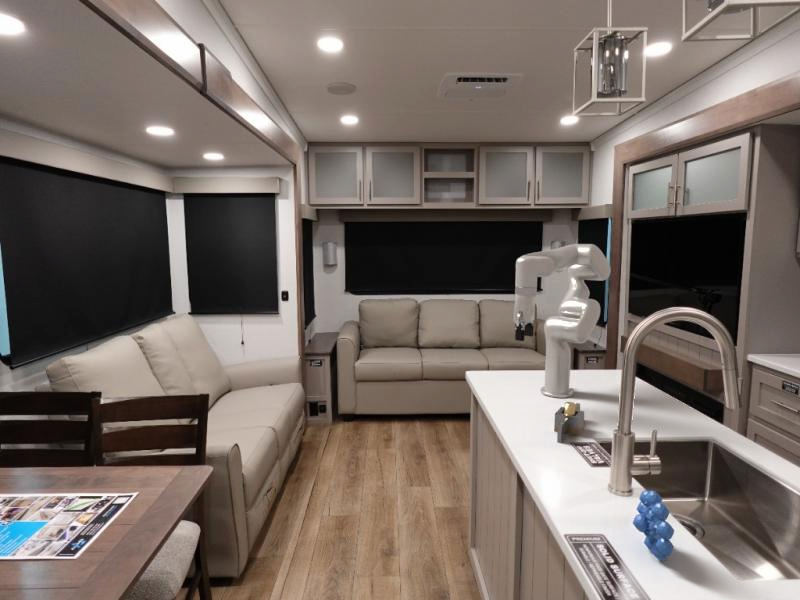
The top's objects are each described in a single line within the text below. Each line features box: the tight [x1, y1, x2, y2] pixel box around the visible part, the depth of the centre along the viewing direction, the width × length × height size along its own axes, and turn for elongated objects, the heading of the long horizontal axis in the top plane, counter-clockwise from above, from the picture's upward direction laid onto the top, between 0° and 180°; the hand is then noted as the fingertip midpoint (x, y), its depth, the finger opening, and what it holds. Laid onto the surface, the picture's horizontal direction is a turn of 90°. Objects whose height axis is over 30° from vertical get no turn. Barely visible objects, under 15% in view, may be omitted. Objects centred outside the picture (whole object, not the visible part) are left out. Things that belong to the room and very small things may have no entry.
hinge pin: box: [564, 401, 576, 416], centre depth 155 cm, size 3×3×9 cm
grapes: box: [632, 489, 675, 562], centre depth 94 cm, size 12×7×12 cm, turn 177°
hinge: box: [553, 402, 585, 444], centre depth 155 cm, size 24×8×6 cm, turn 146°
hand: (524, 338), depth 173 cm, fingers open, 9 cm apart
